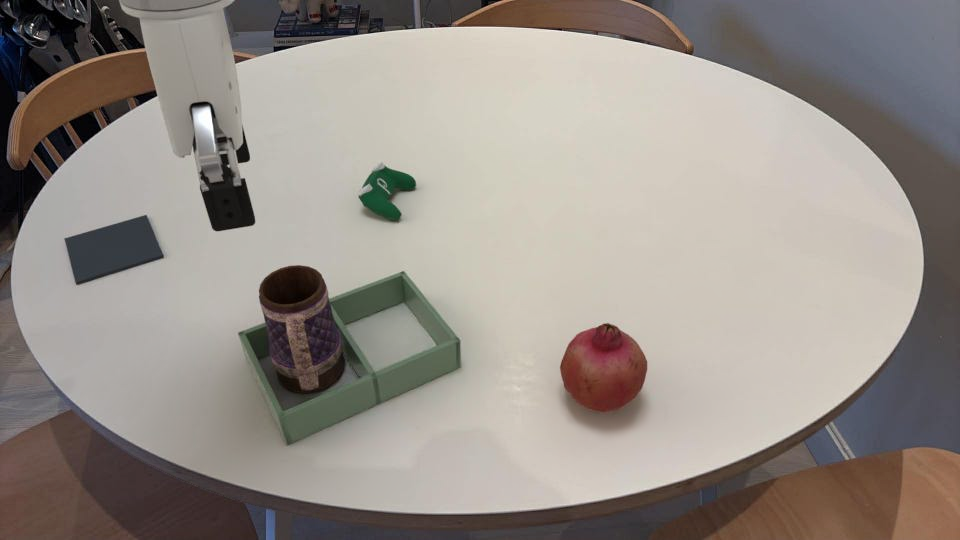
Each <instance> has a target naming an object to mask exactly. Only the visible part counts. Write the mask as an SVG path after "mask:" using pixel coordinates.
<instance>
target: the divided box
mask: <svg viewBox="0 0 960 540" xmlns="http://www.w3.org/2000/svg"><path fill="white" fill-rule="evenodd" d="M329 301H330V305H331V309H332V313H333V317H334V321H335V325H336V328H337V329H338V332H339V334H340V338H341V342H342V353H343V355H344V356H345V358H346V359H347V361H348V362H349V364H350V366H351V368H352V369H353V371H354V372H355V373H356V375H357V377H358V379H356V380H353V381H351V382H348V383H346V384H343V385H342V386H339V387H337V388H334V389H332V390H330V391H328V392H325V393H323V394H321V395H318V396H316V397H313V398H311V399H309V400H306V401H304V402H301V403H300V404H297V405H294V406H292V407H290V408H288V409H286V410H283V408H282V406H281V404H280V401H279V400H278V398H277V396H276V394H275V391H274V389H273V387H272V386H271V383H270V381H269V380H268V377H267V375H266V374H265V371H264V369H263V368H262V365H261V362H260V361H259V359H260V358H263V357H266V356H269V355H270V351H269V347H270V342H269V337H268V333H267V328H266V324H265V322H262V323H260V324H258V325H255V326H252V327H249V328H246V329H244V330H242V331H239V332H237V335H238V338H239V341H240V344H241V347H242V350H243V354H244V357H245V360H246V362H247V365H248V366H249V368H250V370H251V372H252V375H253V377H254V379H255V381H256V383H257V385H258V387H259V390H260V391H261V394H262V396H263V398H264V400H265V402H266V404H267V406H268V408H269V411H270V413H271V415H272V417H273V419H274V420H275V424H276V425H277V427H278V430H279V431H280V434H281V436H282V438H283V441H284V442H285V444H286V446H290V445H291V444H293V443H294V442H297V441H299V440H302V439H304V438H306V437H309V436H310V435H313V434H315V433H317V432H319V431H322V430H324V429H326V428H329V427H332V426H333V425H335V424H337V423H340V422H342V421H344V420H347V419H349V418H351V417H353V416H355V415H357V414H359V413H362V412H365V411H366V410H369V409H370V408H373V407H375V406H377V405H380V404H382V403H384V402H386V401H388V400H390V399H391V400H392V399H393V398H395V397H398V396H400V395H403V394H405V393H407V392H409V391H411V390H413V389H416V388H417V387H418V388H419V387H420V386H422V385H424V384H427V383H428V382H431V381H433V380H435V379H438V378H440V377H442V376H444V375H446V374H449V373H451V372H453V371H455V370H457V369H460V368H462V352H461V351H462V350H461V349H462V348H461V347H462V346H461V339H460V338H459V337H458V336H457V334H456V333H455V332H454V331H453V330H452V328H451V327H450V326H449V324H448V323H447V322H446V321H445V319H444V318H443V317H442V316H441V315H440V314H439V312H438V311H437V309H436V308H435V307H434V306H433V305H432V303H431V302H430V301H429V300H428V299H427V298H426V296H425V295H424V294H423V292H422V291H421V290H420V288H418V286H417V285H416V283H414V282H413V280H412V279H411V278H410V276H409V275H408V274H407V273H406V271H405V270H402V271H400V272H397V273H394V274H391V275H389V276H386V277H384V278H381V279H377V280H376V281H373V282H370V283H367V284H365V285H362V286H360V287H357V288H354V289H352V290H349V291H346V292H344V293H340V294H338V295H335V296H331V297H329ZM401 303H405V305H406V306H407V308H408V309H409V310H410V311H411V313H412V314H413V315H414V316H415V318H416V319H417V320H418V321H419V323H420V324H421V325H422V327H423V328H424V330H425V331H426V332H427V333H428V335H429V336H430V337H431V338H432V340H433V341H434V342H435V343H436V345H434V346H432V347H430V348H428V349H425V350H423V351H421V352H418V353H417V354H414V355H412V356H411V355H410V356H409V357H407V358H404V359H402V360H400V361H397V362H395V363H393V364H390V365H388V366H386V367H383V368H381V369H379V370H377V371H375V370H374V368H373V366H372V365H371V364H370V362H369V361H368V359H367V358H366V356H365V354H364V353H363V351H362V350H361V348H360V346H359V345H358V344H357V342H356V341H355V338H354V337H353V336H352V334H351V333H350V331H349V329H348V328H347V327H346V325H348V324H350V323H352V322H355V321H358V320H361V319H363V318H365V317H368V316H370V315H373V314H376V313H378V312H382V311H384V310H386V309H389V308H391V307H394V306H396V305H398V304H401Z"/></svg>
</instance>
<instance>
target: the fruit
mask: <svg viewBox="0 0 960 540" xmlns="http://www.w3.org/2000/svg"><path fill="white" fill-rule="evenodd" d="M559 369H560V370H559V371H560V377H561V380H562V383H563V386H564V389H566V391H567V393H568V394H570V396H571V397H572V398H573V400H574V401H575V402H576V403H578V404H580V406H582V407H584V408H585V409H587V410H590V411H593V412H598V413H601V414H603V413H608V412H612V411H618V410H619V409H621V408H623V407H625V406H627V405H629V403H631V402H632V401H633V400H635V399H636V398H637V396H638V395H639V393H640V392H641V391H642V389H643V387H644V384H645V381H646V377H647V372H648V359H647V357H646V355H645V352H644V351H643V350H642V348H641V346H640V345H639V343H638V341H636V340H635V339H634V338H633V337H632V336H630V335H629V334H628V333H626V332H625V331H623V330H622V329H620V328H619V327H618V326H617V325H614V324H612V323H609V322H606V323H603V324H600V325H598V326H597V327H591V328H589V329H586V330H583V331H581V332H579V333H577V334H576V335H575V336H574V337H573V338H572V339H571V340H570V342H569V343H568V344H567V346H566V349H565V351H564V354H563V356H562V359H561V362H560V365H559Z"/></svg>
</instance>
